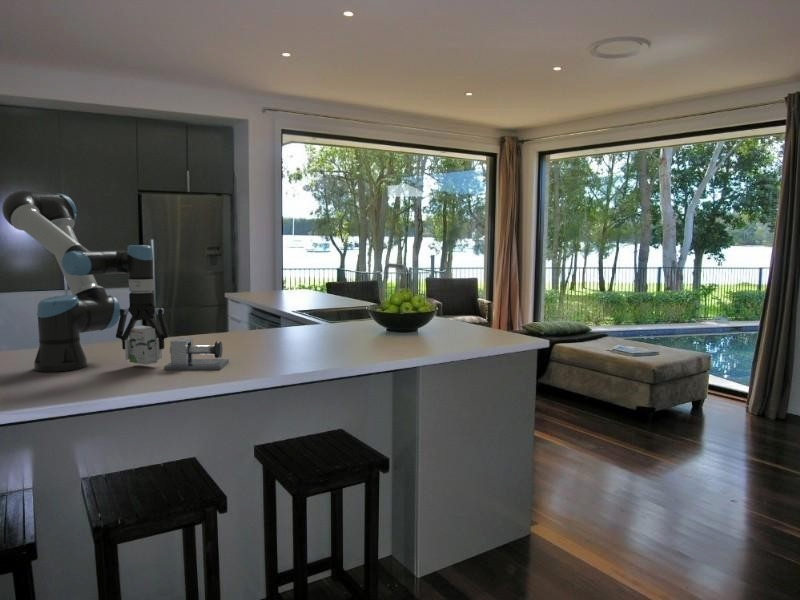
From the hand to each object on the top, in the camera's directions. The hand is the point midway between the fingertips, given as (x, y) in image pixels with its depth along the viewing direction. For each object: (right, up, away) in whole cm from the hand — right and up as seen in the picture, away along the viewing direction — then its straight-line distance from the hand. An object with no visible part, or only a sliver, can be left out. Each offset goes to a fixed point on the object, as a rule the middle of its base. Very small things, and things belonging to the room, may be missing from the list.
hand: (143, 358), depth 200 cm
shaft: (+17, 0, +1) cm, 17 cm away
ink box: (0, -1, 0) cm, 1 cm away
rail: (+18, -2, +1) cm, 18 cm away
